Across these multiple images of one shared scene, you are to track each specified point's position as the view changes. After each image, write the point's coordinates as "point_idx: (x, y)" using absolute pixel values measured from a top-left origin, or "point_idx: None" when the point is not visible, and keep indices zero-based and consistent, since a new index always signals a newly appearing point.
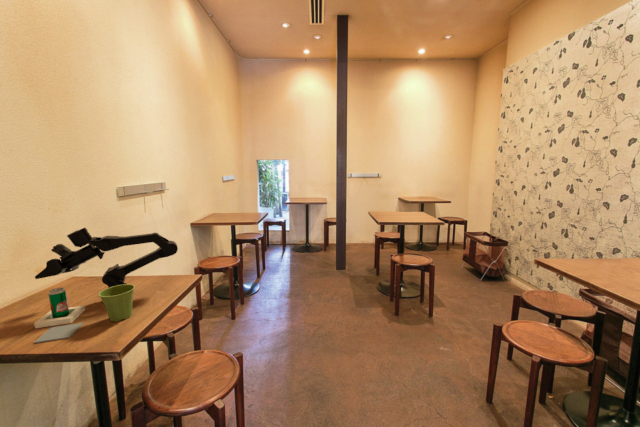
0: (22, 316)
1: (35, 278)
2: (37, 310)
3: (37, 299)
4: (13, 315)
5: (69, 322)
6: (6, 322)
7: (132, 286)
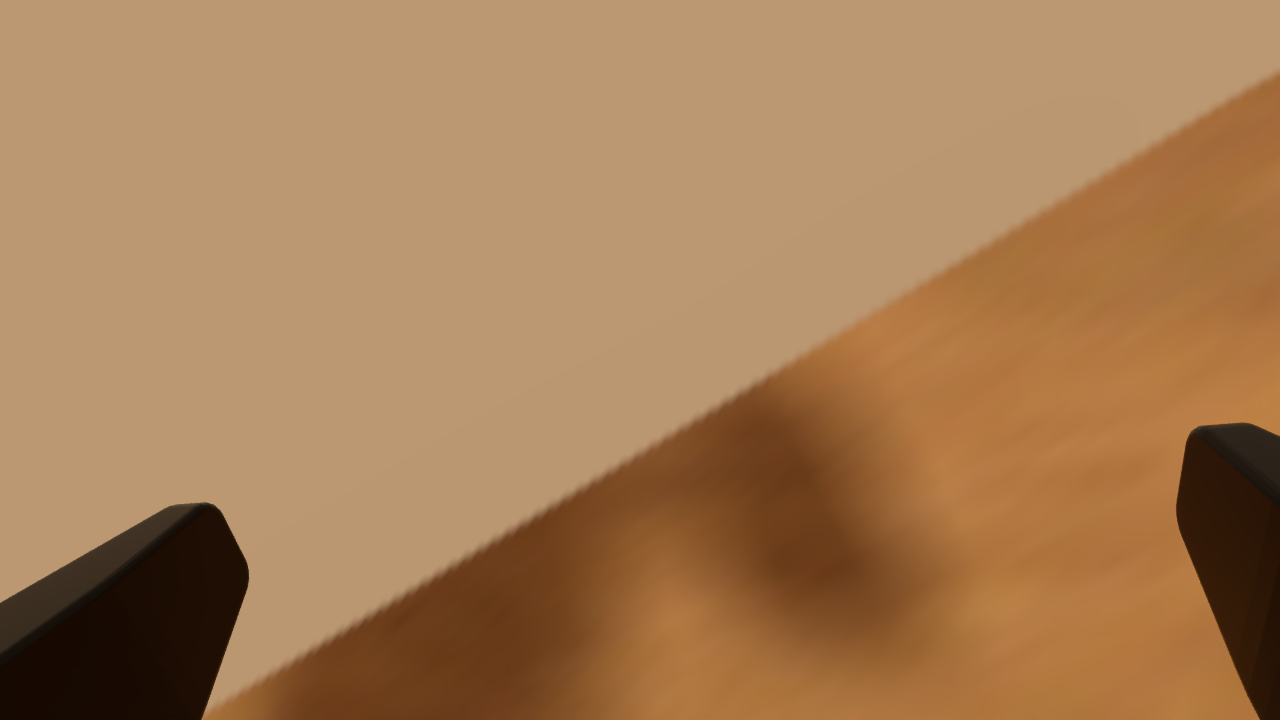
0: (864, 479)
1: (207, 555)
2: (1057, 567)
3: None
4: (947, 341)
5: None
6: (732, 405)
7: None
